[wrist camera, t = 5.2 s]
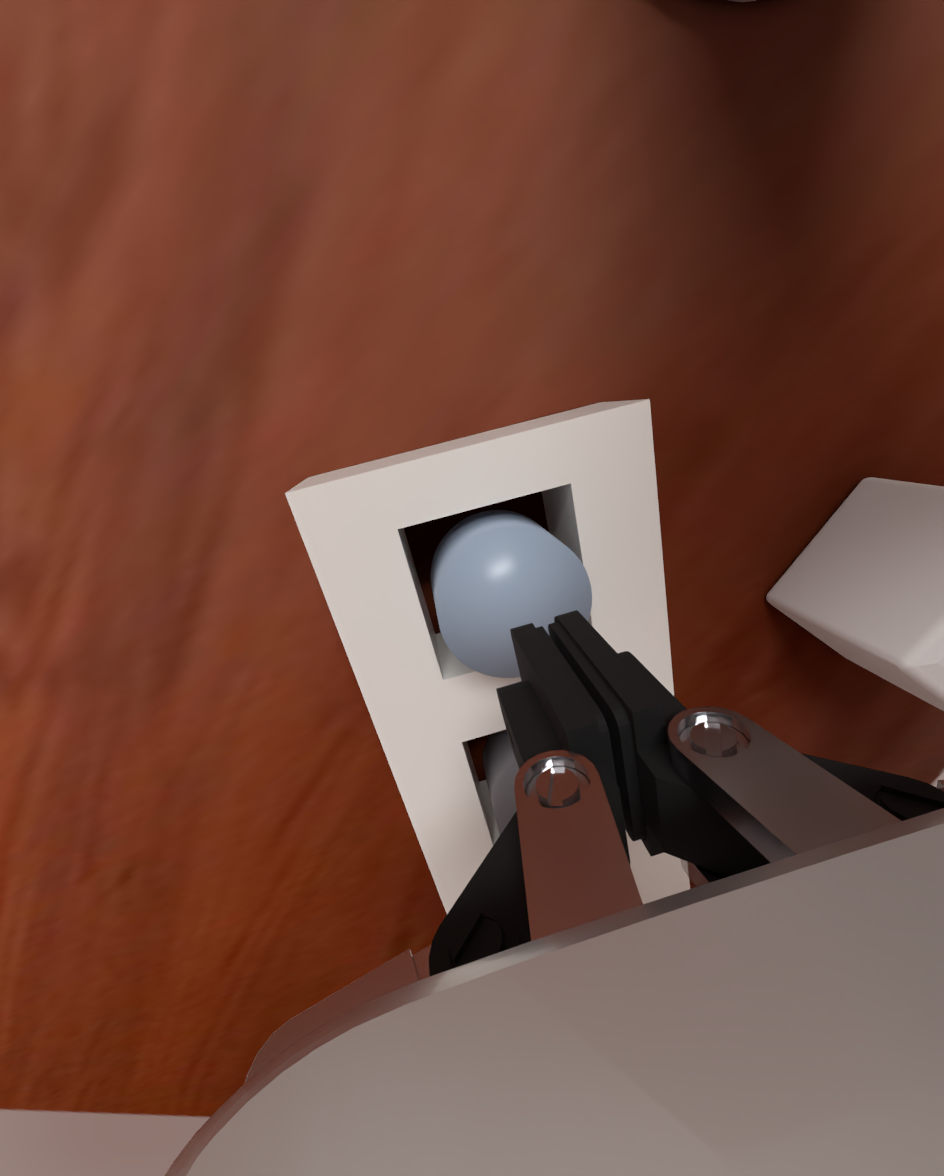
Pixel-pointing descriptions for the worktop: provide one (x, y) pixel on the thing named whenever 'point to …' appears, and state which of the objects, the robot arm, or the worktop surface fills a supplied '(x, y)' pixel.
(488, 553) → the slate button
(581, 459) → the frame
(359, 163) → the worktop surface
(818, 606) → the medicine bottle
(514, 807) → the charcoal button
